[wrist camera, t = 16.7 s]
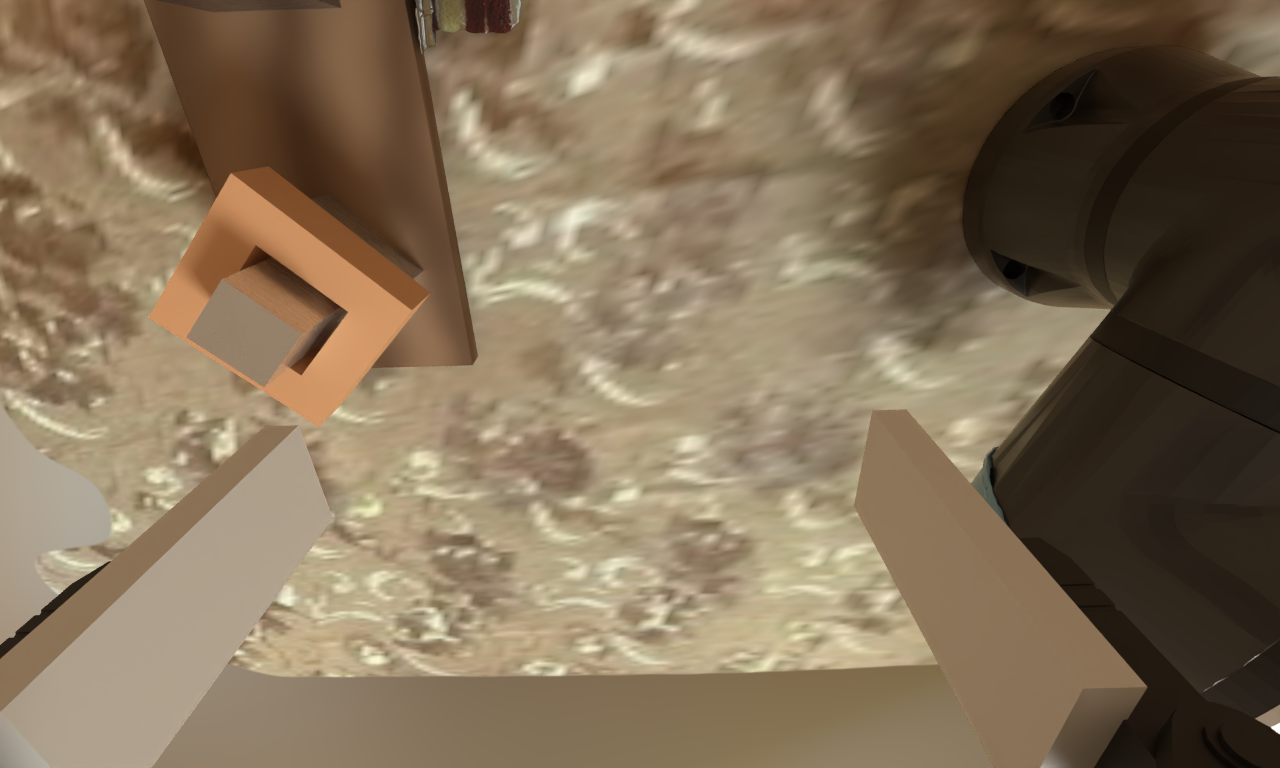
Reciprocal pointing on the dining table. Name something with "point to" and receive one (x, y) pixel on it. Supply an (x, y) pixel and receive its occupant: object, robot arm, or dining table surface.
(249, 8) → the stand
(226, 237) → the collar
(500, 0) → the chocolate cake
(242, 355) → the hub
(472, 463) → the dining table surface
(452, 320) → the board
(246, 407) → the dining table surface
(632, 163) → the dining table surface
